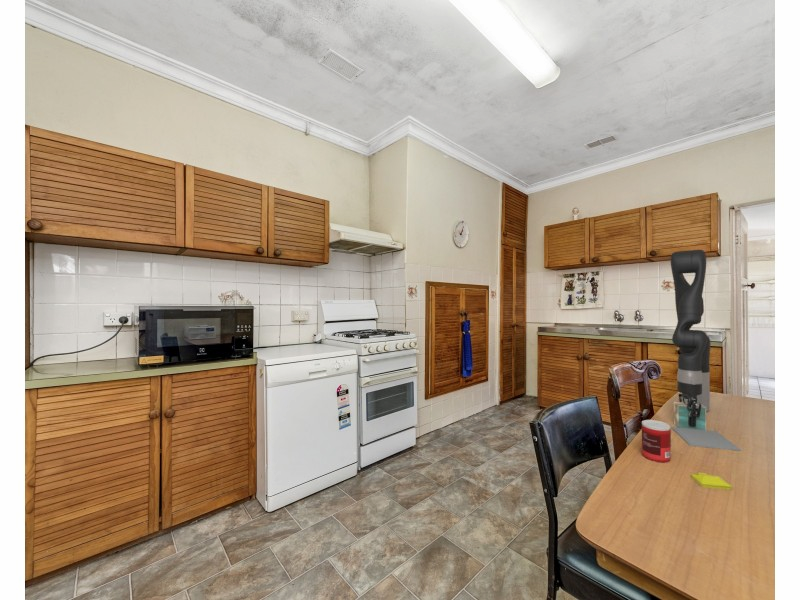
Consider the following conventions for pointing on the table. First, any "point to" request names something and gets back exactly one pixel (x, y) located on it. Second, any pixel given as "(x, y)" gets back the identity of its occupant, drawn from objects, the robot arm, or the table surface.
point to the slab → (682, 417)
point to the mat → (705, 438)
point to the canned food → (656, 441)
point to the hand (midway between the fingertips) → (689, 423)
